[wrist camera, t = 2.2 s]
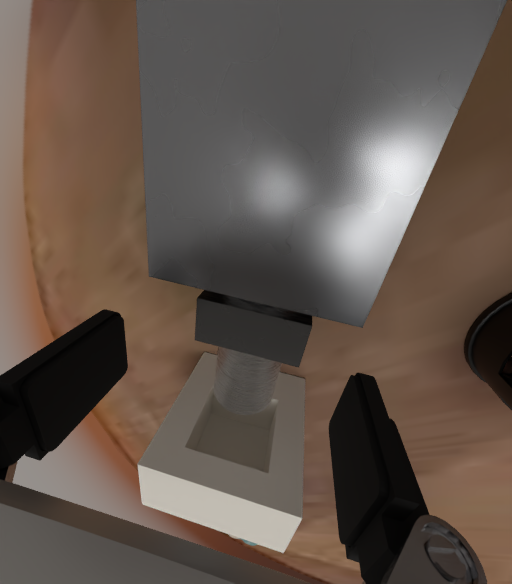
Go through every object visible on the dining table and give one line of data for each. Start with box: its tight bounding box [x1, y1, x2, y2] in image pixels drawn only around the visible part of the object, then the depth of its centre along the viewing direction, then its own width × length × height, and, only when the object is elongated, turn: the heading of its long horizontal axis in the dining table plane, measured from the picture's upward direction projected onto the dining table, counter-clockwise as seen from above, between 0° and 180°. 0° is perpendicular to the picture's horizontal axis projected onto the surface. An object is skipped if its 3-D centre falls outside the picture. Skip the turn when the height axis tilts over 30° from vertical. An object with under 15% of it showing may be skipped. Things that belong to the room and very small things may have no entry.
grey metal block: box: [136, 0, 507, 328], centre depth 11 cm, size 9×8×10 cm
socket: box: [138, 352, 305, 553], centre depth 20 cm, size 5×10×10 cm, turn 81°
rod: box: [195, 290, 312, 415], centre depth 12 cm, size 19×5×5 cm, turn 171°
